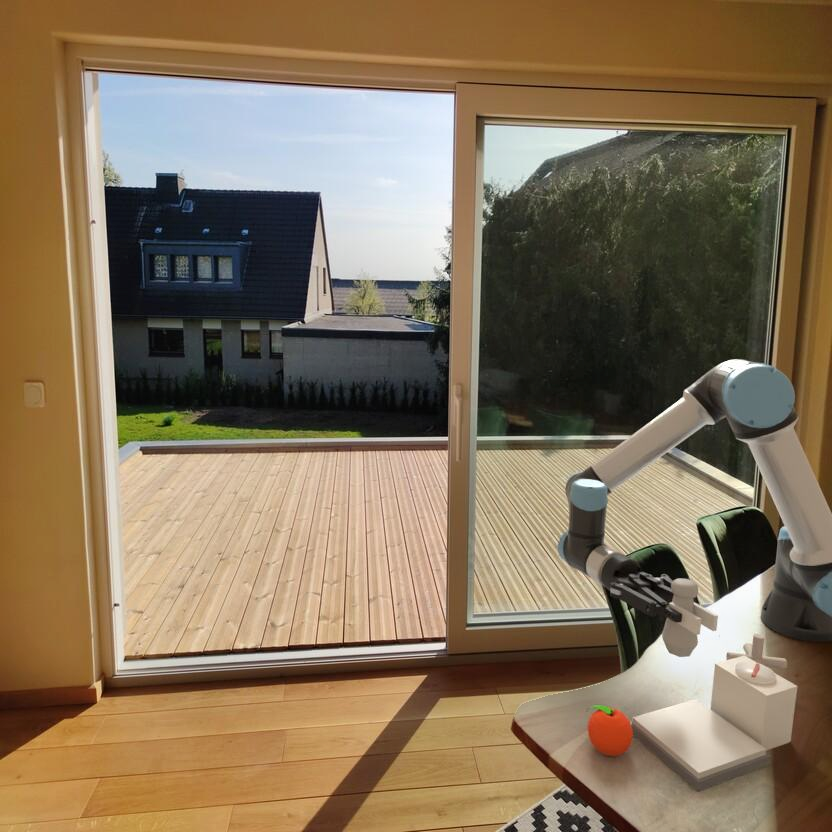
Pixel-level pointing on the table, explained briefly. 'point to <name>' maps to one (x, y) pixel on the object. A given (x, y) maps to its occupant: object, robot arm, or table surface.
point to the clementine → (610, 731)
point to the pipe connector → (759, 654)
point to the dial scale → (723, 725)
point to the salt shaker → (673, 633)
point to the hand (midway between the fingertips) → (707, 624)
